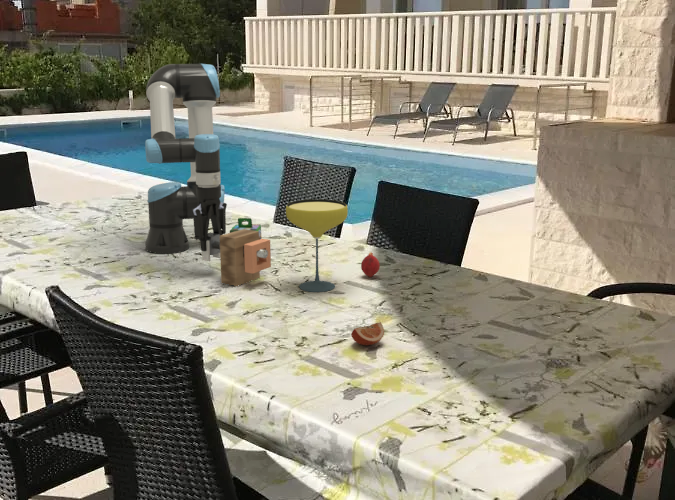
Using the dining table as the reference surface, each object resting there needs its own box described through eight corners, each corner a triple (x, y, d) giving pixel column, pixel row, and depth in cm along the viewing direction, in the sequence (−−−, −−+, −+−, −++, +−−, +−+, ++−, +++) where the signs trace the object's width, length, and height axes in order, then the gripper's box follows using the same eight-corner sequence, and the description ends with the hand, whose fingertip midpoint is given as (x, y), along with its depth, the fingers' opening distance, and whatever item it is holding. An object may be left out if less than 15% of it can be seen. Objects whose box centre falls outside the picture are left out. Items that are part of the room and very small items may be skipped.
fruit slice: (372, 336, 188) (372, 317, 186) (390, 344, 183) (390, 325, 181) (345, 344, 183) (346, 324, 182) (363, 352, 178) (363, 332, 176)
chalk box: (262, 257, 261) (261, 214, 257) (257, 264, 252) (256, 220, 248) (236, 256, 262) (235, 214, 258) (230, 263, 253) (228, 219, 249)
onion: (377, 280, 234) (378, 255, 232) (359, 279, 235) (359, 254, 233) (380, 275, 240) (381, 250, 238) (362, 274, 241) (363, 249, 239)
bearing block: (221, 283, 231) (219, 235, 227) (245, 274, 239) (243, 229, 236) (236, 286, 227) (234, 238, 224) (259, 278, 236) (258, 231, 232)
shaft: (202, 253, 238) (201, 234, 236) (211, 250, 241) (210, 232, 239) (261, 265, 225) (260, 245, 223) (269, 262, 228) (269, 242, 226)
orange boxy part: (245, 272, 226) (244, 244, 224) (263, 265, 233) (262, 238, 230) (252, 273, 224) (251, 245, 222) (270, 266, 231) (270, 239, 229)
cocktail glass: (340, 297, 217) (341, 212, 211) (279, 293, 221) (278, 209, 214) (352, 280, 234) (352, 200, 228) (295, 276, 238) (294, 198, 232)
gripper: (197, 190, 224) (200, 266, 230) (236, 182, 238) (238, 254, 243) (179, 188, 228) (183, 263, 234) (218, 180, 242) (221, 251, 248)
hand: (211, 258), depth 239 cm, fingers closed on shaft, 4 cm apart
